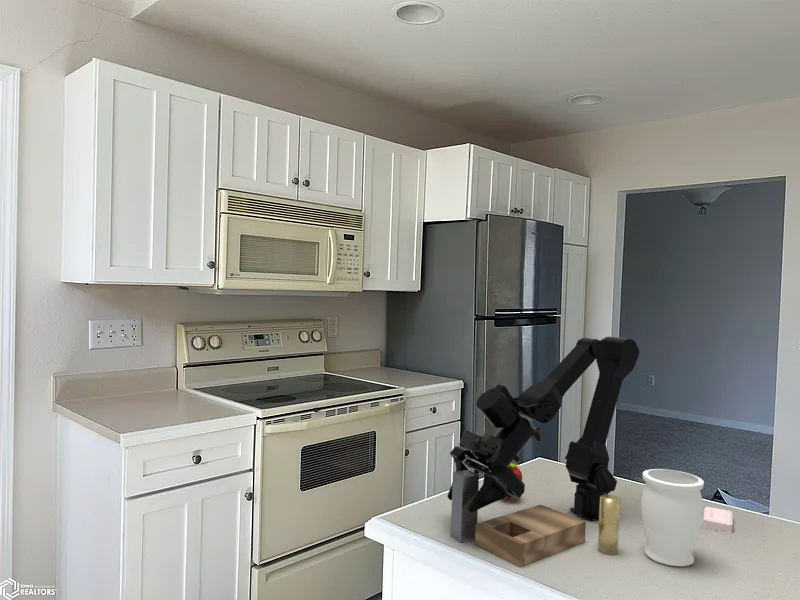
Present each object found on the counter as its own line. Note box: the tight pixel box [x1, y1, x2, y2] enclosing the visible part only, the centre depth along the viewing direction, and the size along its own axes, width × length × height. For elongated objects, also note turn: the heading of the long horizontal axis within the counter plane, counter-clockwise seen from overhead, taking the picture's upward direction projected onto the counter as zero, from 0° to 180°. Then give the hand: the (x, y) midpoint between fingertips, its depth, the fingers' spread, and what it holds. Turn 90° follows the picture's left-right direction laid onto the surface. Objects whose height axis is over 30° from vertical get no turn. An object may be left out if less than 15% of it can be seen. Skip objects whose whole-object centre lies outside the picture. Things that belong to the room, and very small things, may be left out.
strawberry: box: [506, 462, 523, 500], centre depth 141 cm, size 6×8×10 cm
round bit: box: [597, 494, 621, 556], centre depth 115 cm, size 4×4×10 cm
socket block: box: [474, 504, 587, 568], centre depth 117 cm, size 19×11×4 cm, turn 129°
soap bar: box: [702, 506, 733, 533], centre depth 131 cm, size 5×9×2 cm, turn 152°
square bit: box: [450, 470, 480, 544], centre depth 118 cm, size 4×4×12 cm
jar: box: [640, 468, 705, 567], centre depth 113 cm, size 11×10×15 cm
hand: (458, 504), depth 118 cm, fingers open, 7 cm apart
